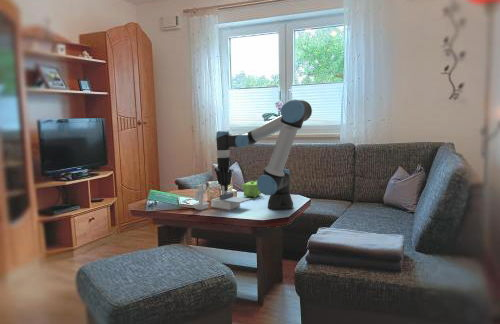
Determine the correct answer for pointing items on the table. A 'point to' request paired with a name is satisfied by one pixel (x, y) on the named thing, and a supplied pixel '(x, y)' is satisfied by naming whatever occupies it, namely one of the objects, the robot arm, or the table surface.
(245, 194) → the green lumpy block
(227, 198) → the lid
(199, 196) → the figurine
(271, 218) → the table surface
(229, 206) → the mailer box
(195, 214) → the table surface
